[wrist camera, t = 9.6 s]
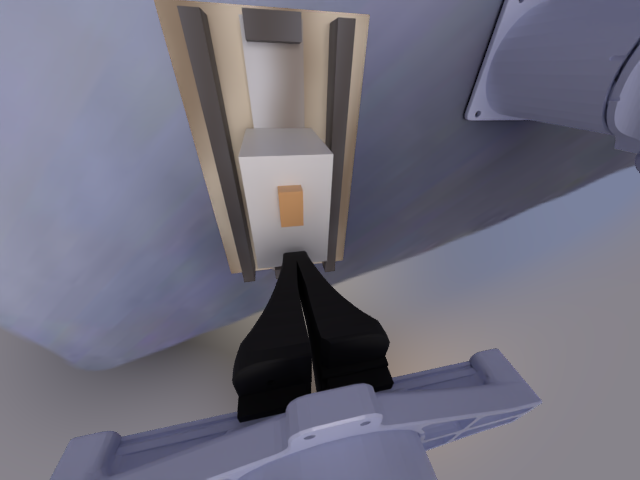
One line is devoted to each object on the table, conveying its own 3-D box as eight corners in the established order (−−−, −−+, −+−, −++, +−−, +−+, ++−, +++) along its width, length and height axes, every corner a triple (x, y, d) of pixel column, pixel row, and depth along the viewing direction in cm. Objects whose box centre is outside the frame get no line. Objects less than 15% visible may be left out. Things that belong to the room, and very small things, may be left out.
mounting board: (362, 18, 15) (383, 8, 13) (339, 253, 27) (348, 272, 24) (161, 3, 13) (136, -13, 10) (232, 265, 25) (229, 287, 22)
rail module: (311, 127, 16) (337, 159, 11) (310, 213, 21) (329, 269, 15) (246, 128, 16) (236, 162, 10) (259, 217, 20) (257, 277, 14)
